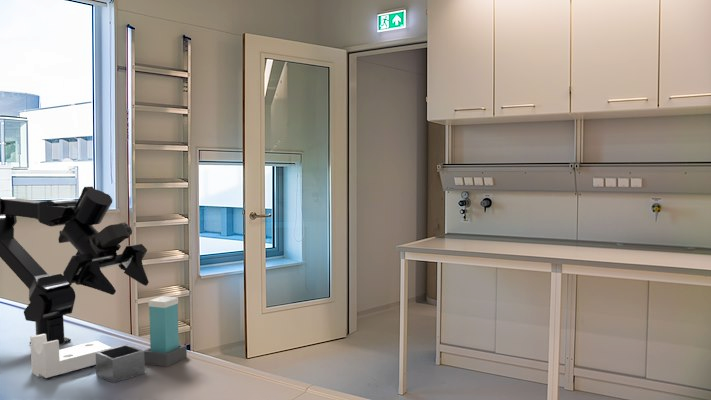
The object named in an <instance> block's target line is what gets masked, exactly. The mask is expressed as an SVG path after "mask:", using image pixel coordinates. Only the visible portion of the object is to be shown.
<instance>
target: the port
mask: <svg viewBox="0 0 711 400" xmlns="http://www.w3.org/2000/svg"><path fill="white" fill-rule="evenodd" d="M144 350H145V349H144ZM144 350H143V349H141V348H138V347H135V346H132V345H129V344H122V345H120V346H115V347H112V348H111V349H107V350H104V351H100V352H96V365H95V373H96V375H95V376H97V377H99V378H102V379H104V380H106V381H107V382H110V383H112V384H114V383H118V382H121V381H125V380H127V379H130V378H135V377H136V376H139V375H143V374H145V373H146V369H145V368H146V363H145V362H144Z"/></svg>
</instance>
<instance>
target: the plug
mask: <svg viewBox="0 0 711 400" xmlns="http://www.w3.org/2000/svg"><path fill="white" fill-rule="evenodd" d="M147 303H148V311H149V337H150V338H149V342H150V345H149V346H150V347H149V348H151V351H153V352H160V353H168V352H170V351H173V350H175V349H177V348H179V345H180V341H179V338H180V337H179V312H178V311H179V305H178V304H179V297H174V296H165V295H164V296H163V295H161V296H158V297H156V298H151V299H150V300H148V301H147Z"/></svg>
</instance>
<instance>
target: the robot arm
mask: <svg viewBox="0 0 711 400" xmlns="http://www.w3.org/2000/svg"><path fill="white" fill-rule="evenodd" d="M112 203H113V198H112V197H111V195H110V194H108V193H105V192H104V191H101V190H99V189H95V187H94V186H84V187H83V189H82V191H81V193H80V196H79V198H78V199H77V200H76V199H74V198H73V199H72V198H70V199H56V200H55V199H54V200H45V201H43V200H32V199H27V198H18V197H15V196H7V197H4V196H3V197H0V258H1V260H2V261H3V262H4V263H5V264H6V266H8V268H9V269H10V270H11V271H12V272H13V273H14V274H15V275H16V276H17V278H18V279H19V280H20V281H21V282H22V283H23V284H24V285H25V286H26V287H27V288H28V301H29V303H28V305H27V306H26V307H25V309H24V310H23V314H24V318H25V321H28V322H35V324H34V325H35V336H36V335H40V334H46V338H47V342H49V341H53V340H59V345H61V344H66V343H70V342H71V341H72V339H71V338H68V337H66V336H65V326H64V325H65V324H64V316H65V315H69V314H72V313H73V311H74V305H75V300H76V291H75V289H74V288H73V286H72V285H73V284H75V285H78V286H80V285H81V286H85V287H88V288H91V289H95V290H97V291H100V292H103V293H106V294H109V295H112V296H113V295H115V293H116V292H117V291H116V289H115V287H114V285H113V284H112V283H111V282H110V281H109V279H108V278H107V277H106V276H105V275H104V273H103V271H102V270H101V269H105V268H109V267H115V266H118V267H119V269H121V270H123V271H124V272H123V273H124V274H125V275H127V276H128V277H130V278H132V279H133V280H134V281H136V282H138V283H139V284H141V285H143V286H145V287H147V286H148V284H149V279H148V276H147V274H146V271H145V268H144V265H143V259H144V258H145V255H146V253H147V252H148V249H147V248H146V247H145V246H144V245H143V244H142V243H139V244H131V245H127V246H125V247H124V250H123V252H122V253H121V254H118V251H120V249H121V247H122V245H120V244H121V243H122V242H124V241H125V240H126V239H128V238H130V237H131V235H132V234H133V230H132V227H131V226H130V225H129V224H127V223H126V222H118V223H116V224H115V223H114V224H109V225H107V226H105V227H104V228H102V229H101V230H100V231H98V230H97V229H96V228H95V227H94V225H95V226H96V225H99V224H101V223H102V221H103V220H104V218H105V216H106V214H107V213H108V210H109V209H110V207H111V206H112ZM17 217H21V218H22V217H23V218H30V219H35V220H38V222H39V223H40V224H43V225H44V226H48V227H58V226H64V227H63V228H62V230H59V233H58V234H59V235H58V243H59V244H64V243H70V244H71V245H72V246H73V247H74V248H75V249H76V250H77V251H76V253H75V255H71V258H70V259H69V261H68V263H67V265H66V266H65V268H64V270H63V272H62V273H63V274H61V273H56V274H51V275H50V274H49V273H47V272H46V270H45V269H44V268H43V267H42V266H41V265H40V264H39V263H38V262H37V261H36V260H35V258H33V257H32V255H31V254H30V253H29V252H28V251H27V250H26V249H25V248H24V247H23V246H22V245H21V244H20V243H19V241H18V240H17V239H16V238H15V226H16V224H17V223H18V220H17ZM29 345H31V342H30V341H29Z"/></svg>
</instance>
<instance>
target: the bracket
mask: <svg viewBox="0 0 711 400" xmlns="http://www.w3.org/2000/svg"><path fill="white" fill-rule="evenodd" d="M30 342H31V344H30V359H31V360H30V361H31V373H32V374H33V375H35V376H37V377H38V378H40V377H43V378H45V379H47V378H51V377H55V376H58V375H62V374H66V373H69V372H73V371H77V370H80V369H84V368H89V367H91V366H96V352H100V351H104V350H107V349H111V348H113V347H112V346H109V345H107V344H105V343H102V342H100V341H98V340H94V341H91V342H86V343H81V344H77V345H74V346H68V347H64V348H62V349H60V344H59V340H53V341H49V342H47V338H46V334H40V335H36V334H35V335H32V336H30V341H29V343H30Z"/></svg>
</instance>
